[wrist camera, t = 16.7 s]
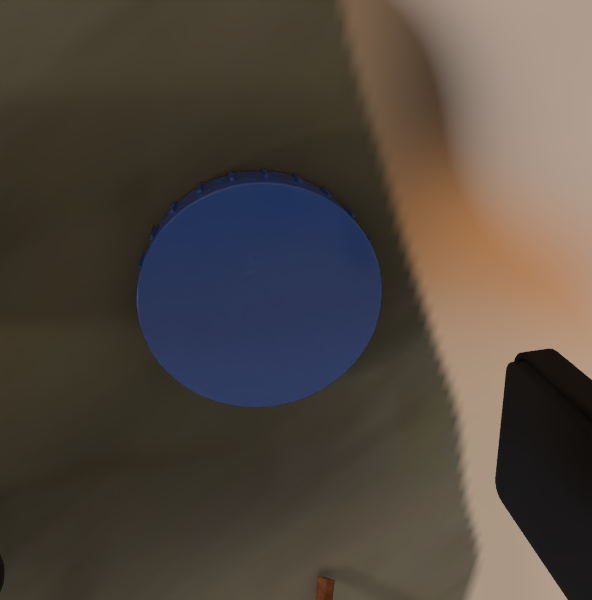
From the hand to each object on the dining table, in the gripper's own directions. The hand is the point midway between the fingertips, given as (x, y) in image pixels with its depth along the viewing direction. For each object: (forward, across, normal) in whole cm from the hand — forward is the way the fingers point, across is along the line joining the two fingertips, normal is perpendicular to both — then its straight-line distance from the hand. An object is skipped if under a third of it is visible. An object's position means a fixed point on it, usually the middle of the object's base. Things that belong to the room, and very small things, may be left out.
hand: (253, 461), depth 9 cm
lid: (+6, -1, 0) cm, 6 cm away
